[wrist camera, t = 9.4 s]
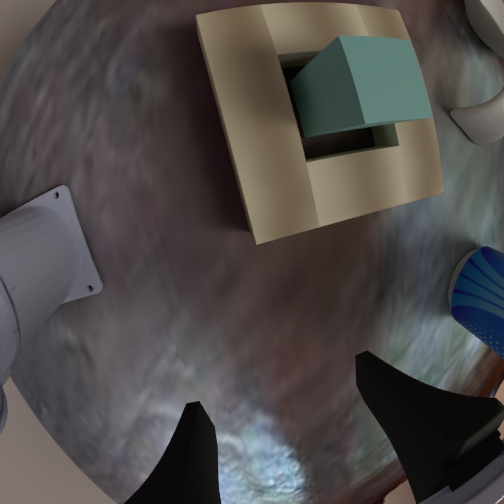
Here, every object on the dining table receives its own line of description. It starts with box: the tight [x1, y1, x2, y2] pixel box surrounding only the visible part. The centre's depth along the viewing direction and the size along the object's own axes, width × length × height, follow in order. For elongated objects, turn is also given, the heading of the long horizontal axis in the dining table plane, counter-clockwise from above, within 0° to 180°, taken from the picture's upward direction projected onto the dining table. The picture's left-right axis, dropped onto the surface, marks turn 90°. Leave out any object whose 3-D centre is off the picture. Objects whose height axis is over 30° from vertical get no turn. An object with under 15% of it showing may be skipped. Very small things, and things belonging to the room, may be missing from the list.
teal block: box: [290, 36, 433, 138], centre depth 13 cm, size 4×4×8 cm
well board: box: [196, 2, 444, 244], centre depth 15 cm, size 14×14×3 cm
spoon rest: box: [450, 0, 504, 145], centre depth 13 cm, size 24×12×7 cm, turn 155°
